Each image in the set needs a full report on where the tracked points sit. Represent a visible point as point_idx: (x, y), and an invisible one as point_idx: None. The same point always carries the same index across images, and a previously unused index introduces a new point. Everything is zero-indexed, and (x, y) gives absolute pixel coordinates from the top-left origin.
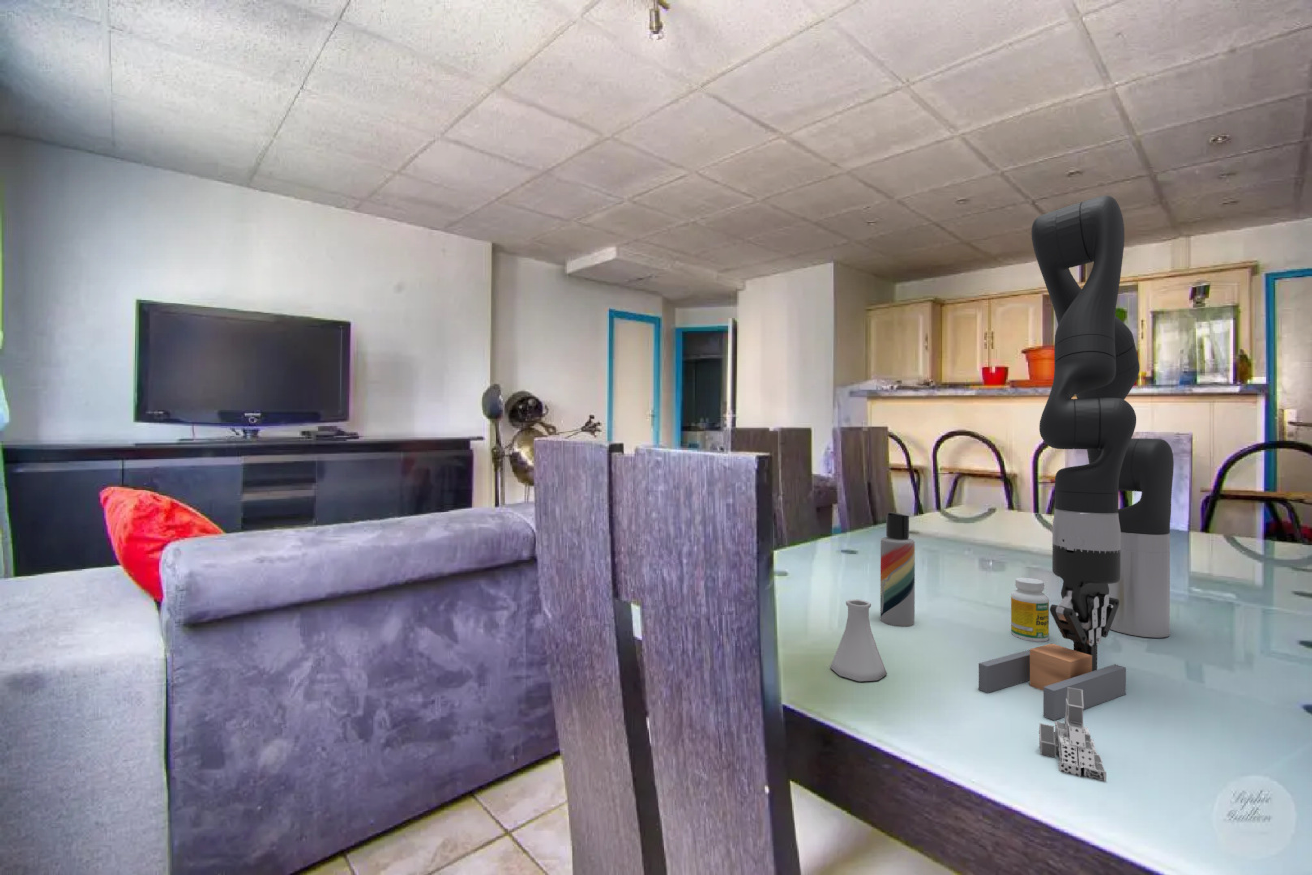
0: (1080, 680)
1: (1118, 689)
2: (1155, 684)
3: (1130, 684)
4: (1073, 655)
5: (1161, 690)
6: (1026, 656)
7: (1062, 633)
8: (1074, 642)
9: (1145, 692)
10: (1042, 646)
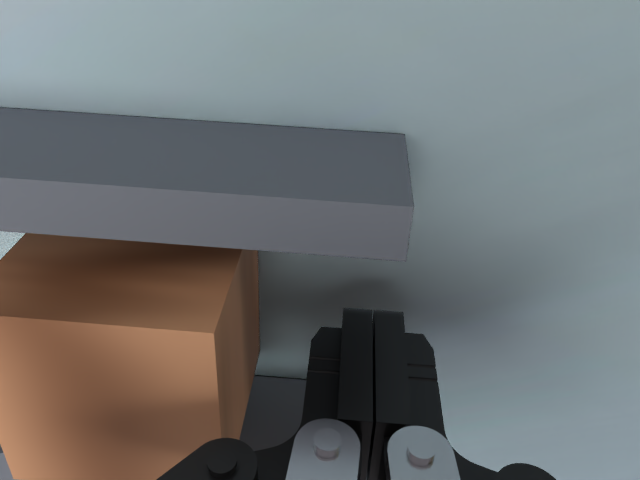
0: (6, 473)
1: None
2: (600, 434)
3: (512, 392)
4: (128, 458)
5: (539, 456)
6: (25, 229)
7: (168, 477)
8: (293, 439)
9: (461, 437)
10: (85, 329)
